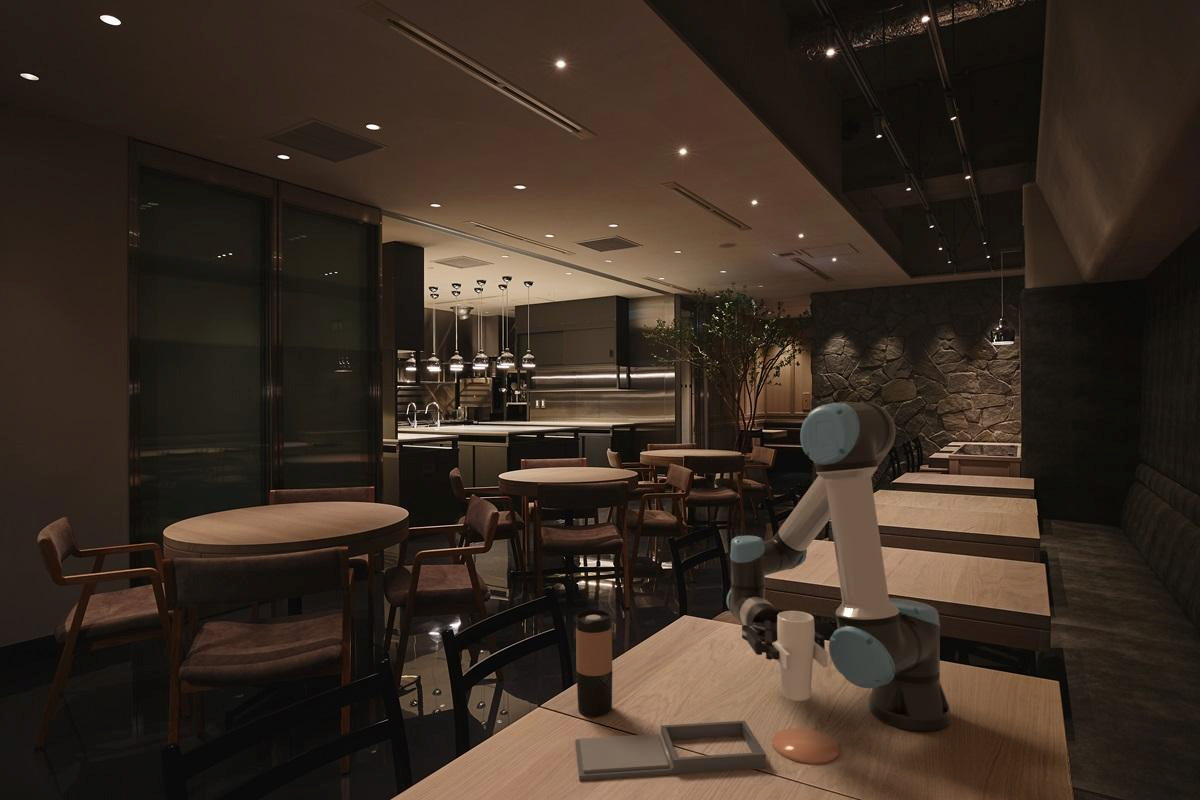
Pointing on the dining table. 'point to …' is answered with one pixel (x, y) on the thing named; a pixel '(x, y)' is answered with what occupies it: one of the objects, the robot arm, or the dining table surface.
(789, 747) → the coaster
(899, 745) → the dining table surface
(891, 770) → the dining table surface
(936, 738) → the dining table surface
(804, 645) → the drinking glass
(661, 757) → the open case
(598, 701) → the travel mug
